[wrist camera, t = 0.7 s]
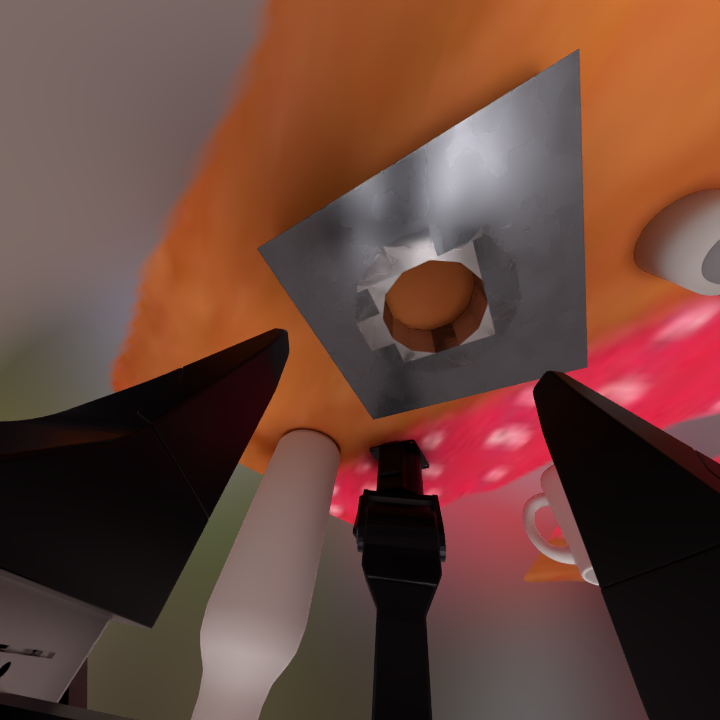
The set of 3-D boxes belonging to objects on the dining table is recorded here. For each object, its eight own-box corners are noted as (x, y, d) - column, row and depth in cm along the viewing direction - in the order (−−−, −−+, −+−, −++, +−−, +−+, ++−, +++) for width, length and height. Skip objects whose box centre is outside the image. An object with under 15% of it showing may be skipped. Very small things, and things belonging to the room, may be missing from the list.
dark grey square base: (563, 342, 22) (587, 367, 19) (375, 395, 29) (373, 419, 26) (541, 73, 13) (579, 48, 11) (277, 237, 20) (257, 248, 17)
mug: (518, 500, 38) (552, 591, 30) (500, 472, 34) (532, 566, 26) (618, 484, 33) (691, 588, 25) (608, 449, 29) (690, 557, 21)
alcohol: (347, 437, 34) (227, 1079, 10) (334, 470, 39) (234, 940, 15) (282, 419, 33) (-11, 1056, 9) (277, 455, 39) (82, 920, 15)
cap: (725, 254, 17) (802, 274, 14) (631, 284, 19) (679, 308, 16) (746, 171, 15) (846, 172, 11) (636, 215, 16) (694, 226, 13)
